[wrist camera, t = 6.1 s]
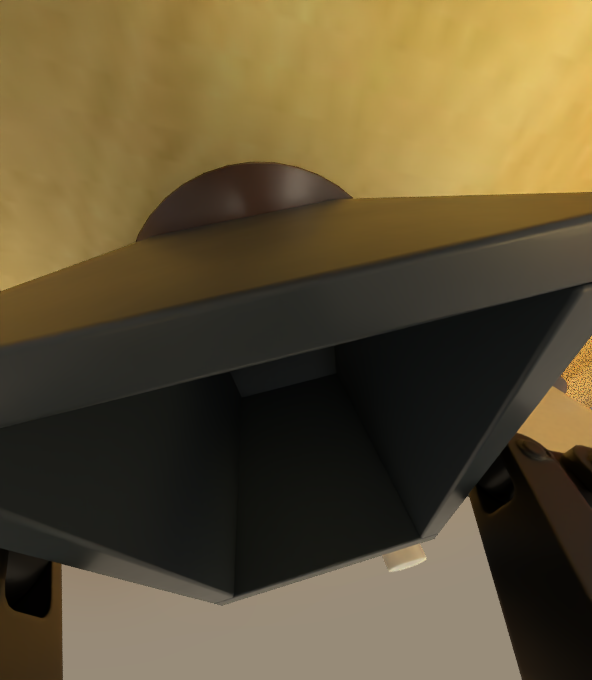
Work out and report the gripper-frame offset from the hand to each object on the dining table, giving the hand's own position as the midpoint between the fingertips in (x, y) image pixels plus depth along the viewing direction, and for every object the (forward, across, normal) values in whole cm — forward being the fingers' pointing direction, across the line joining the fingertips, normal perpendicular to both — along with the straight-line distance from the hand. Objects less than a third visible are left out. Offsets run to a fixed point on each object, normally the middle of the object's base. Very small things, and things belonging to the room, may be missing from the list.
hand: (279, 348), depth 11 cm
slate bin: (+3, 0, -1) cm, 3 cm away
